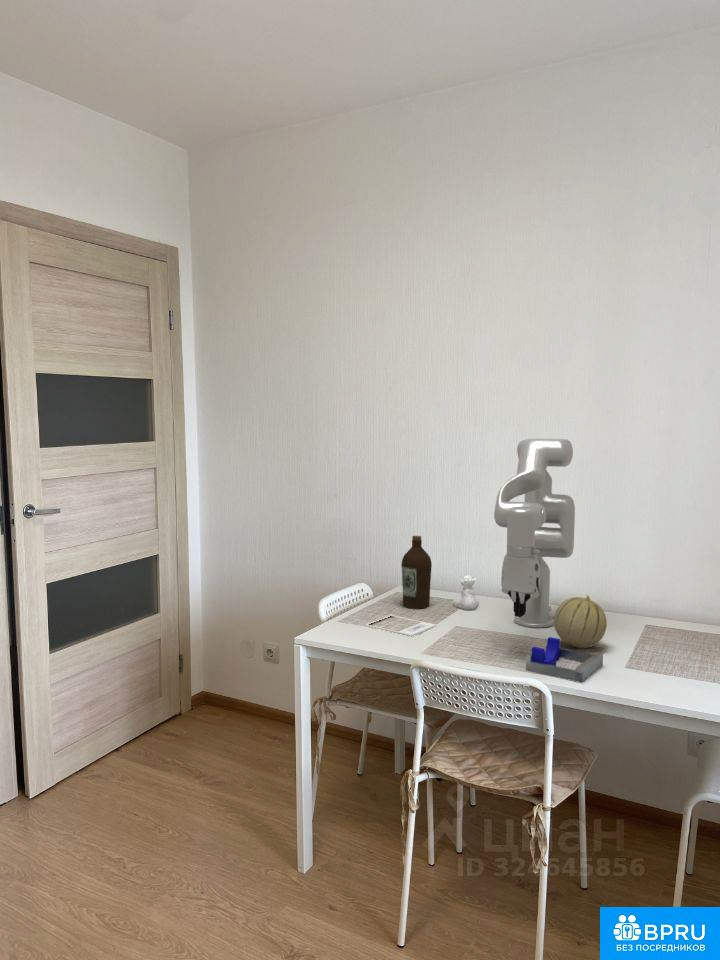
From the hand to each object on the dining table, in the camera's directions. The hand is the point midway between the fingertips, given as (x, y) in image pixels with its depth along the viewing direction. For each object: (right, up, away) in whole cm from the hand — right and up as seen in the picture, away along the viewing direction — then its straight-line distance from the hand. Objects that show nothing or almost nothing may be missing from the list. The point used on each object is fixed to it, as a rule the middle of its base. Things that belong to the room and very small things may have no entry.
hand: (519, 615), depth 204 cm
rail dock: (+10, -13, -8) cm, 18 cm away
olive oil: (-25, -7, +55) cm, 61 cm away
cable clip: (+7, -13, -5) cm, 15 cm away
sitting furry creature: (-7, -7, +53) cm, 54 cm away
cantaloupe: (+20, -11, +10) cm, 25 cm away
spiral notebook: (-32, -10, +30) cm, 45 cm away
